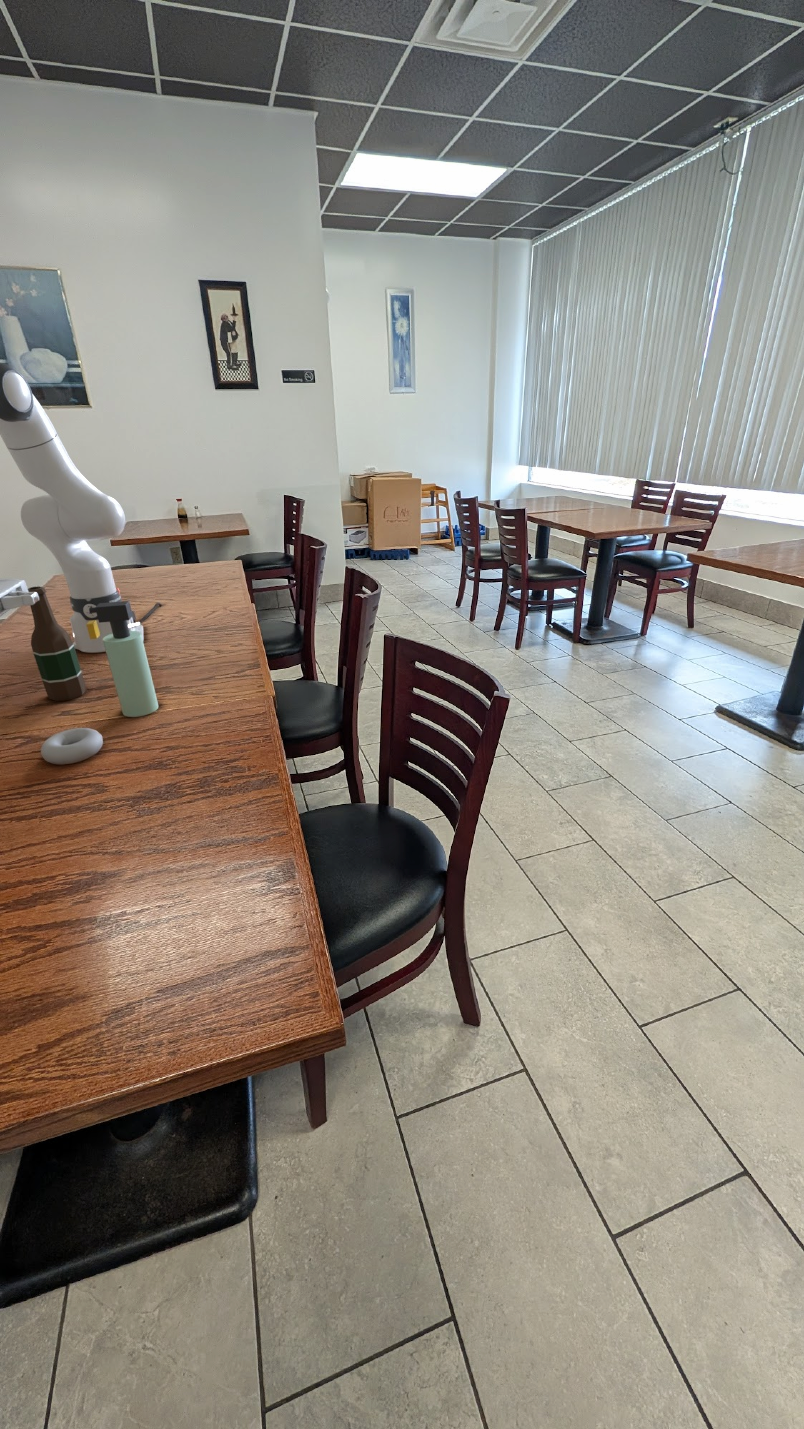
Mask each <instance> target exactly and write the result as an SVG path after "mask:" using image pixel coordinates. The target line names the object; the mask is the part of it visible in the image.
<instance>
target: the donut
mask: <svg viewBox="0 0 804 1429" xmlns="http://www.w3.org/2000/svg"><path fill="white" fill-rule="evenodd" d="M103 740H104V739H103V736H102V734H101V733H100V732H98V731H97V730H96V729H93V728H89V727H77V728H71V729H65V730H62V731H59V732H58V733H55V734H53V735H51V736H50V737H48V738H47V739H45V741H44V742H43V743H42V745H41V748H40V755H41V757H42V758H43V759H44V760H45V761H46V762H47V763H50V764H53V765H62V766H63V765H72V764H76V763H80V762H82V761H86V760H87V759H89V758H92V757H93V756H95V755H96V754H97V753H98V752H99V751H100V750H101V749H102V747H103V745H104V741H103Z"/></svg>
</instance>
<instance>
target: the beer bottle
mask: <svg viewBox="0 0 804 1429" xmlns="http://www.w3.org/2000/svg"><path fill="white" fill-rule="evenodd" d="M27 588H28V592H37V593H38V596H39V601H37V602H36V603H35V604H33V605H29V607H30V610H31V615H32V618H33V623H34V629H33V631H32V634H31V638H30V645H31V650H32V653H33V657H34V660H35V663H36V666H37V669H38V672H39V674H40V678H41V681H42V684H43V687H44V690H45V693H46V695H47V698H48V699H50V700H52V701H54V702H62V701H71V700H74V699H76V698H79V697H81V696H83V694H84V693H85V692H86V691H87V687H86V683H85V679H84V674H83V672H82V671H83V670H82V669H81V665H80V661H79V659H78V655H77V652H76V649H75V648H74V645H73V642H74V641H73V640H72V638H71V635H70V634H69V632H68V631H67V630H66V629H65V628H64V627H62V625H60V624H59V623H58V621H57V619H56V617H55V614H54V612H53V610H52V607H51V605H50V602H49V599H48V596H47V594H46V593H47V590H46V588H45V587H44V586H39V585H37V586H32V587H31V586H30V587H27Z"/></svg>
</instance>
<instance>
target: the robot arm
mask: <svg viewBox="0 0 804 1429" xmlns="http://www.w3.org/2000/svg"><path fill="white" fill-rule="evenodd" d="M0 437H1V439H2V441H3V443H4V445H5V447H6V449H7V450H8V452H9V454H10V456H11V457H12V459H13V461H14V462H15V464H16V466H17V468H18V470H19V471H20V473H21V475H22V476H23V478H24V480H26V481H27V482H28V483H29V484H31V485H32V486H34V487H35V488H38V489H40V490H42V491H44V492H45V493H46V494H45V495H40V496H35V497H33V498H29V499H27V500H25V501H24V502H23V504H22V506H21V508H20V521H21V523H22V525H23V528H24V529H25V530H26V532H27V533H28V534H29V535H31V536H32V537H34V539H35V538H36V539H37V540H39V541H40V542H41V543H42V544H43V545H44V546H45V547H46V548H47V549H48V550H49V551H50V553H51V554H52V555H53V557H54V558H55V559H56V561H57V562H58V564H59V566H60V569H61V570H62V573H63V575H64V579H65V581H66V585H67V588H68V592H69V594H70V597H69V603H70V606H71V608H72V609H71V610H72V611H73V614H72V615H71V617H70V618H69V621H70V627H71V631H72V636H73V641H72V642H73V645H74V648H75V650H78V651H81V652H82V653H93V654H94V653H106V650H105V646H104V643H103V638H104V637H105V636H107V635H110V634H113V633H112V629H111V625H110V622H102V623H99V620H98V617H97V613H90V611H89V608H94V607H96V606H97V605H98V604H99V603H108V602H121V601H123V600H122V597H121V590H120V589H119V587H116V583H115V579H114V575H113V571H112V567H111V564H110V563H109V561H108V560H107V559H106V558H105V557H103V556H102V555H100V554H99V553H97V552H95V551H94V550H93V549H92V548H91V546H90V545H89V544H88V542H87V541H105V540H108V539H109V540H110V539H113V538H117V537H119V536H121V535H122V533H123V532H124V530H125V526H126V515H125V512H124V509H123V507H122V505H121V504H120V503H119V502H118V500H116V499H115V498H113V497H111V496H110V495H108V494H106V493H104V492H102V491H101V490H100V489H98V488H97V487H96V486H94V485H93V484H92V483H91V482H90V481H89V480H88V479H87V478H86V477H85V476H84V475H83V474H82V473H81V471H80V470H79V469H78V468H77V466H76V465H75V463H74V462H73V461H72V458H71V457H70V455H69V452H67V449H66V448H65V446H64V444H63V442H62V439H61V438H60V436H59V434H58V431H57V430H56V428H55V425H54V424H53V423H52V421H51V419H50V418H49V416H48V414H47V412H46V410H44V408H43V407H42V405H41V403H40V402H39V400H38V399H37V398H36V396H35V395H34V394H33V392H32V388H31V386H30V384H29V382H28V381H27V379H26V378H25V377H24V376H23V375H22V373H21V372H20V371H19V370H18V369H16V368H15V367H14V366H13V365H10V364H8V363H4V362H0ZM28 588H29V587H28V586H27V583H26V581H25V580H23V579H20V578H0V617H2V616H3V615H5V614H6V613H7V612H10V610H14V609H18V608H21V607H26V606H27V607H28V606H30V605H33V604H35V603H36V602H37V601H39V596H38V593H37V592H28ZM157 607H163V604H162V603H160V602H156V603H155V604H154V606H153V607H152V608H151V609H150V610H149V611H148V612H147V613H146V614H145V615H144V616H143V617H142V618H141V619H140V620H139V621H136V619H137V617H136V613H135V610H132V614H133V616H132V617H131V619H130V620H127V624H128V628H129V631H138V632H140V633H141V635H142V639H143V642H144V640H145V639H144V637H145V636H144V634H145V633H144V626H143V624H141V623H142V622H144V621H145V620H146V619H147V618H148V617H150V616H151V615H152V613H153V612H154V611H155V610H156V609H157ZM95 620H96V622H97V625H98V629H99V633H100V636H99V637H98V638H97V639H90V636H89V632H88V629H87V625H86V624H87V623H88V622H89V621H95Z"/></svg>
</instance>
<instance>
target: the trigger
mask: <svg viewBox="0 0 804 1429" xmlns="http://www.w3.org/2000/svg"><path fill="white" fill-rule="evenodd" d="M86 625H87V629H88V632H89V636H90V639H97V638H98V637H99V636H100V633H99V629H98V625H97V622H96V620H95V621H89V622H88V623H87V624H86Z"/></svg>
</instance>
